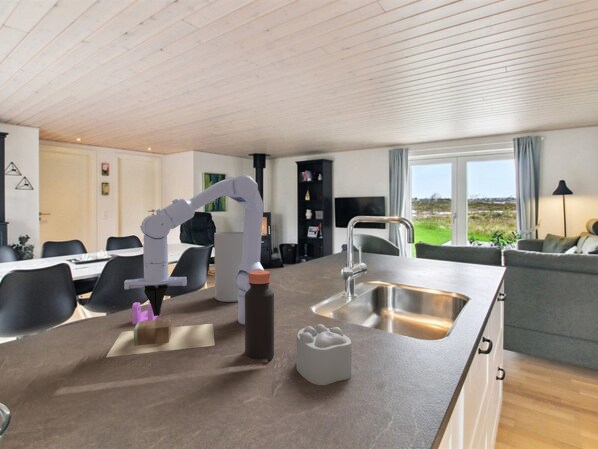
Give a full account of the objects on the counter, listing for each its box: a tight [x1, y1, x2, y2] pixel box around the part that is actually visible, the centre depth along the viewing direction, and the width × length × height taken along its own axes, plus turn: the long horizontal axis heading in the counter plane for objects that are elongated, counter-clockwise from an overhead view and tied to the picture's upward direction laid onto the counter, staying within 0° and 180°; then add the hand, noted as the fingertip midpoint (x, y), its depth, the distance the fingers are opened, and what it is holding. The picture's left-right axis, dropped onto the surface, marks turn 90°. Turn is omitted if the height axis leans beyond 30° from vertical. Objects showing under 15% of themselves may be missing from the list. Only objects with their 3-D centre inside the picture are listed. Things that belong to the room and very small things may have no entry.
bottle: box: [244, 270, 275, 362], centre depth 79 cm, size 7×7×20 cm
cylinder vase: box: [213, 231, 244, 303], centre depth 129 cm, size 12×12×25 cm
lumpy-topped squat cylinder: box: [296, 323, 353, 386], centre depth 74 cm, size 10×13×9 cm
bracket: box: [131, 302, 158, 325], centre depth 105 cm, size 13×6×7 cm, turn 11°
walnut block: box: [133, 318, 172, 346], centre depth 87 cm, size 4×6×8 cm
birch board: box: [105, 323, 216, 358], centre depth 88 cm, size 24×16×1 cm, turn 106°
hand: (157, 314), depth 87 cm, fingers closed
